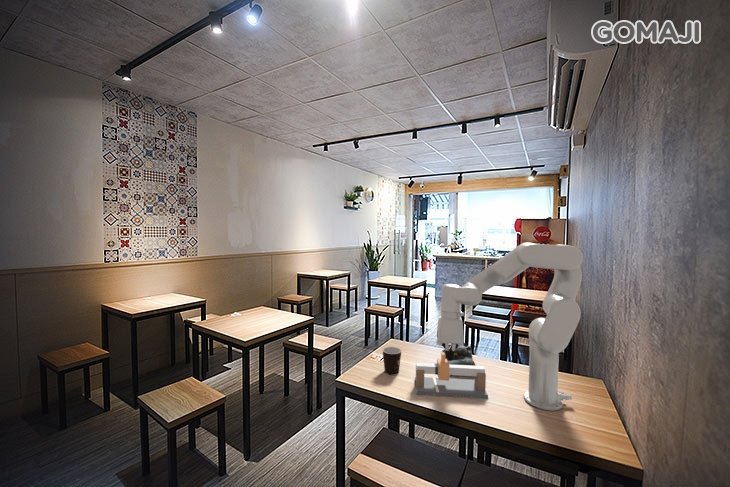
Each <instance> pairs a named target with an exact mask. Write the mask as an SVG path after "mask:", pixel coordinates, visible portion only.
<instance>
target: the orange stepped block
mask: <svg viewBox="0 0 730 487" xmlns="http://www.w3.org/2000/svg"><path fill="white" fill-rule="evenodd" d="M436 364H438V366H439V374H438V375H437V378H438V379H439V380H447V381H449V379H450V375H449V363H448V361H447V359H445V353H444V352H442V351H441V352H440V358H436Z"/></svg>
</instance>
